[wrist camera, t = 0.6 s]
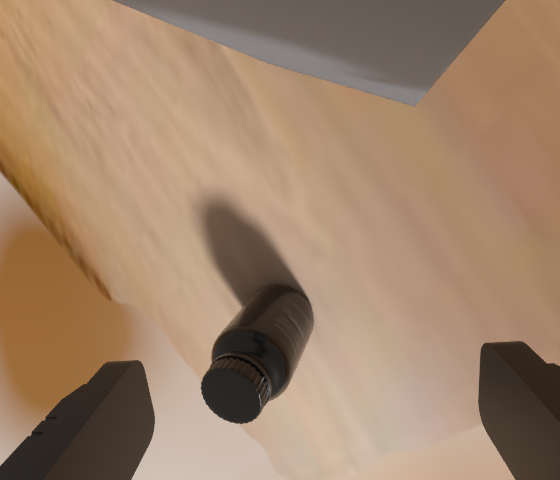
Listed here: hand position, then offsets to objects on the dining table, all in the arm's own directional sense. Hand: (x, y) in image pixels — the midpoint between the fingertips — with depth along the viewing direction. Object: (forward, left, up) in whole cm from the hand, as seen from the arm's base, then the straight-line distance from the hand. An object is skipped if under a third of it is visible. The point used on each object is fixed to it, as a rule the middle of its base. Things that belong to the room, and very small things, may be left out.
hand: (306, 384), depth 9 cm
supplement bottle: (+7, -13, -24) cm, 29 cm away
